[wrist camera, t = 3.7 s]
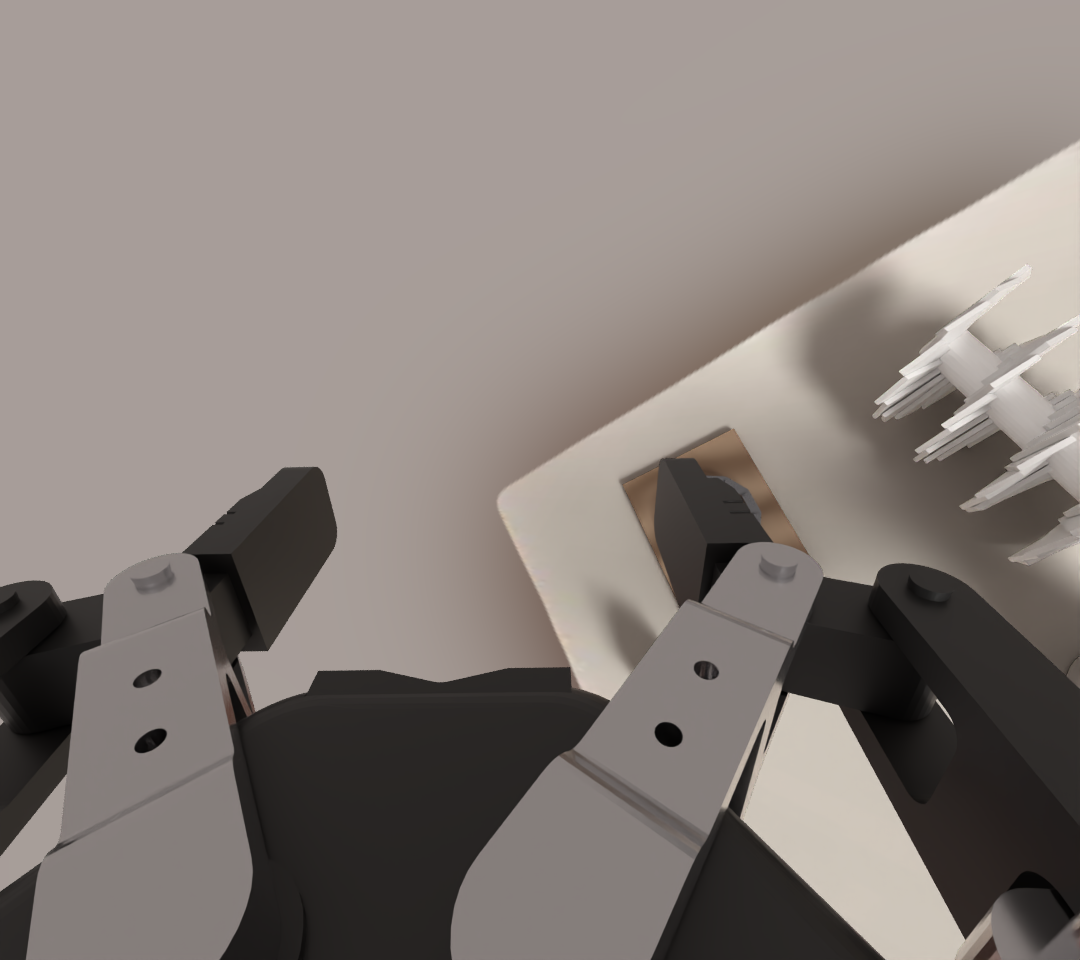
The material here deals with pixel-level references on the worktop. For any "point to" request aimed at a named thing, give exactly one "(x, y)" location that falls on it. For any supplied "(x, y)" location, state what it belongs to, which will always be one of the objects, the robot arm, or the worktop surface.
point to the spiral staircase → (998, 412)
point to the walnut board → (717, 460)
